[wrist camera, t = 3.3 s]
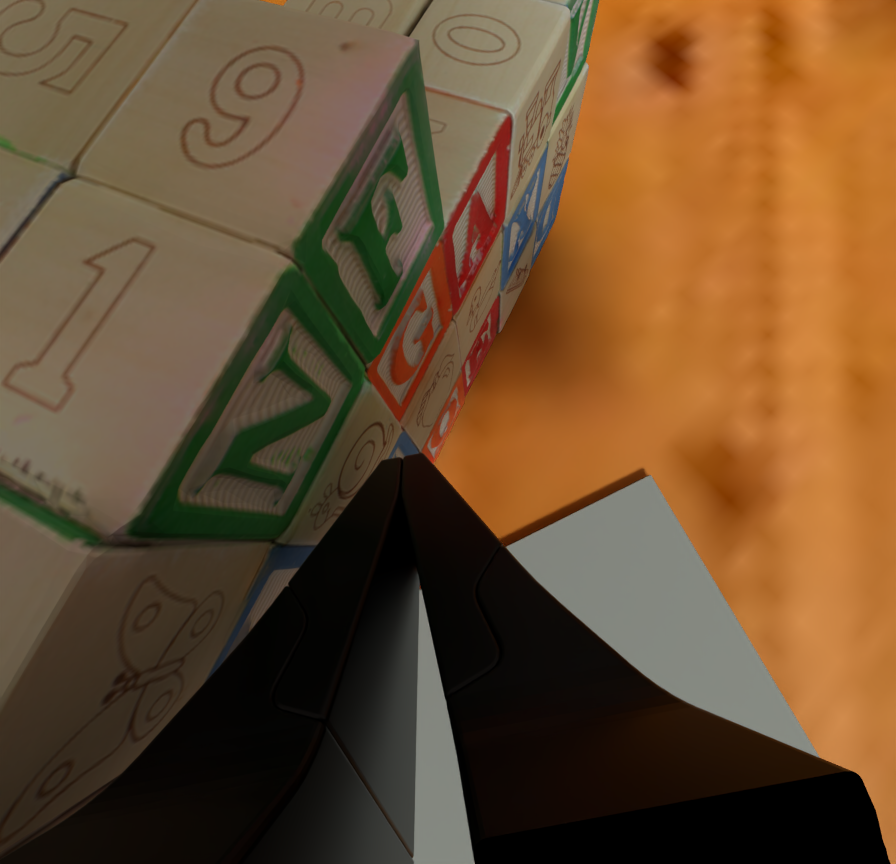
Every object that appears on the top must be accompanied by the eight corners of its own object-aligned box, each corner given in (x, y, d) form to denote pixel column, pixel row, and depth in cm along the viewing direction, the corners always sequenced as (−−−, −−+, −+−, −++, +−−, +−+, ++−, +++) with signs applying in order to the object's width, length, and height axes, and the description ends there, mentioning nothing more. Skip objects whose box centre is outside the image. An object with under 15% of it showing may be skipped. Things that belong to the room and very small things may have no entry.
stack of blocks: (430, 177, 19) (346, -400, 8) (558, 219, 18) (697, -382, 6) (169, 626, 15) (-957, 925, 3) (314, 717, 14) (-616, 1677, 2)
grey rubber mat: (849, 816, 13) (858, 822, 13) (451, 1050, 12) (451, 1063, 12) (647, 475, 16) (650, 475, 16) (306, 645, 15) (303, 648, 15)
